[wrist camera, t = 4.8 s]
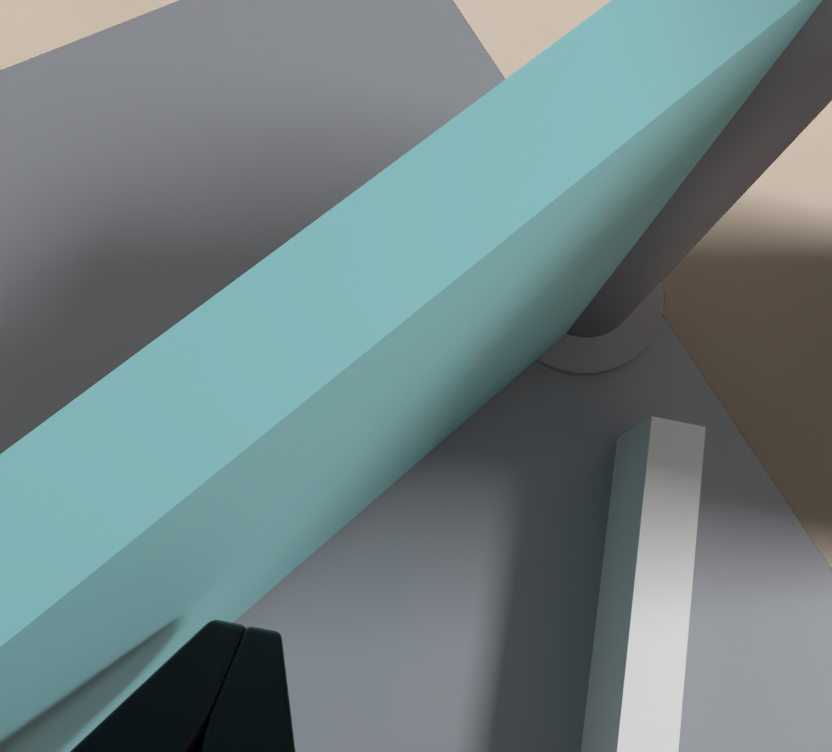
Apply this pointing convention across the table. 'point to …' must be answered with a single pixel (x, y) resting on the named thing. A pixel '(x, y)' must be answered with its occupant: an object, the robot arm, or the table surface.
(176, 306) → the base board
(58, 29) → the table surface
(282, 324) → the door
